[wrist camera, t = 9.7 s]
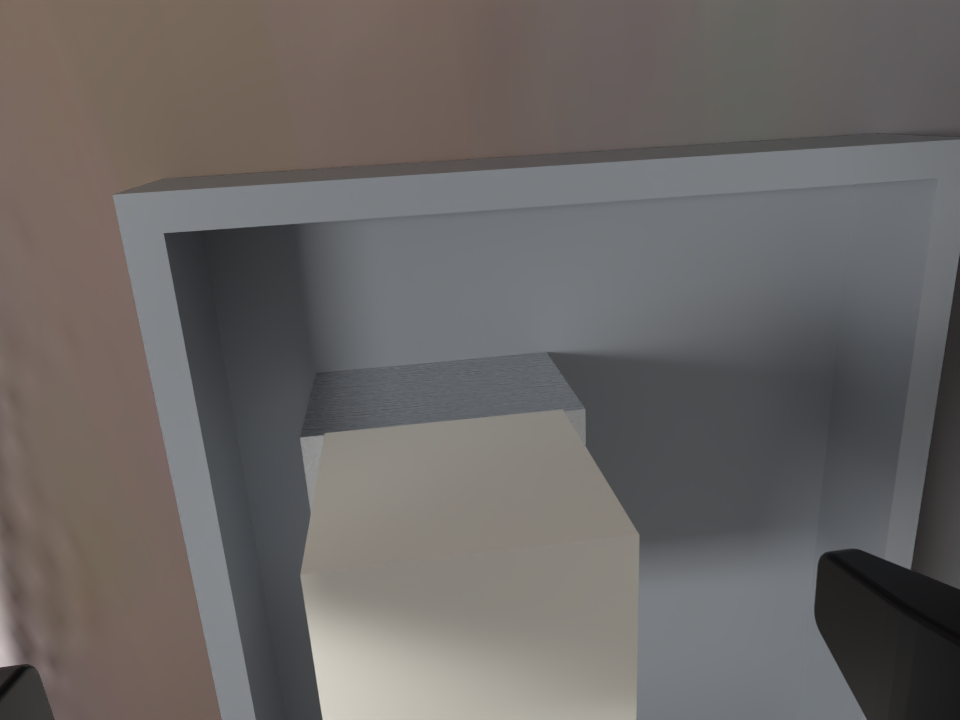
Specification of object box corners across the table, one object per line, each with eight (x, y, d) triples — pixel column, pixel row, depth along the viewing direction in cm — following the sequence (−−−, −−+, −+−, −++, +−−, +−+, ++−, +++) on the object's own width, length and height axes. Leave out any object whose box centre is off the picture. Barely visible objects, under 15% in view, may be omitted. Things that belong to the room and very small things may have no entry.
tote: (876, 133, 20) (977, 138, 16) (808, 734, 26) (871, 825, 23) (162, 178, 18) (112, 194, 14) (280, 813, 24) (264, 924, 21)
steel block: (546, 352, 20) (585, 409, 16) (551, 548, 22) (587, 640, 18) (315, 373, 19) (299, 437, 15) (342, 573, 21) (333, 674, 17)
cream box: (562, 408, 16) (639, 535, 11) (567, 641, 18) (634, 832, 13) (324, 432, 15) (300, 574, 11) (356, 670, 17) (347, 878, 13)
